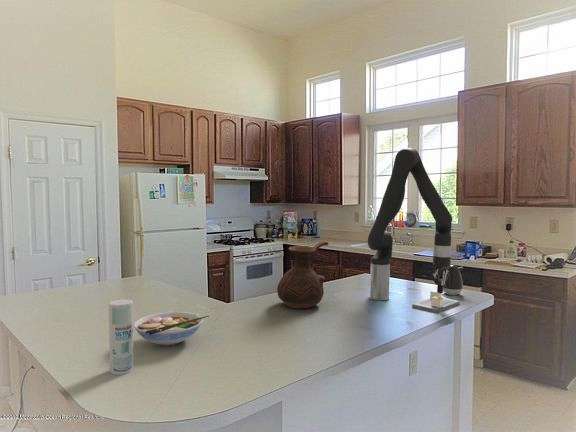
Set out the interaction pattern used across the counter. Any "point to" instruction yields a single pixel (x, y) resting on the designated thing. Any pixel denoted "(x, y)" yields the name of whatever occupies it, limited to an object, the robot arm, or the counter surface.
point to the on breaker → (434, 294)
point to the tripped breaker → (437, 301)
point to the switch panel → (427, 306)
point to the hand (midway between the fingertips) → (440, 292)
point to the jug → (302, 280)
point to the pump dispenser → (453, 281)
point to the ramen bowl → (168, 327)
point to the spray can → (121, 336)
